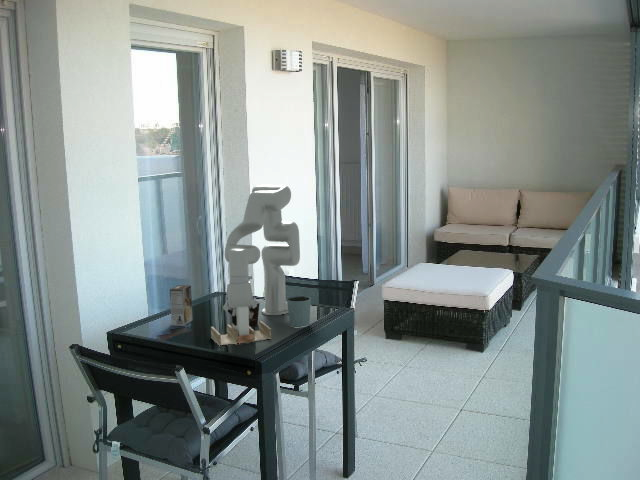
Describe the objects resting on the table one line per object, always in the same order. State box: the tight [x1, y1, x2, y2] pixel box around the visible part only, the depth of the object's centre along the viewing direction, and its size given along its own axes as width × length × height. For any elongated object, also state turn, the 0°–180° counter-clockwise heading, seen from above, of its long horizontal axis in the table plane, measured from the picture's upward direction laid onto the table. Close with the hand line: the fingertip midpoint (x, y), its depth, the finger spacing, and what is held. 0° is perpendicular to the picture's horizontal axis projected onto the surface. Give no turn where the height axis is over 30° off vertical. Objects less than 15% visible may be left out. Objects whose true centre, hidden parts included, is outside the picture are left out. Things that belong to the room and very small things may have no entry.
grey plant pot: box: [286, 295, 312, 327], centre depth 294 cm, size 10×10×12 cm
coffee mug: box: [249, 299, 260, 328], centre depth 297 cm, size 12×9×10 cm
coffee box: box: [169, 284, 193, 327], centre depth 301 cm, size 9×6×16 cm
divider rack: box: [210, 320, 272, 347], centre depth 277 cm, size 21×14×5 cm, turn 112°
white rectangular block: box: [232, 306, 249, 336], centre depth 276 cm, size 4×10×12 cm, turn 22°
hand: (240, 323), depth 276 cm, fingers closed on white rectangular block, 4 cm apart
